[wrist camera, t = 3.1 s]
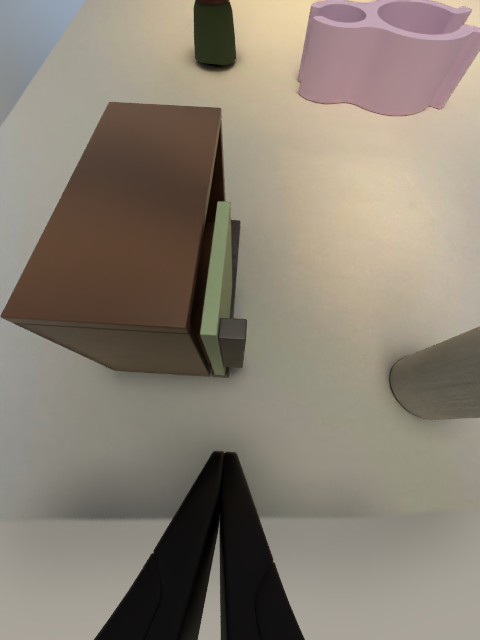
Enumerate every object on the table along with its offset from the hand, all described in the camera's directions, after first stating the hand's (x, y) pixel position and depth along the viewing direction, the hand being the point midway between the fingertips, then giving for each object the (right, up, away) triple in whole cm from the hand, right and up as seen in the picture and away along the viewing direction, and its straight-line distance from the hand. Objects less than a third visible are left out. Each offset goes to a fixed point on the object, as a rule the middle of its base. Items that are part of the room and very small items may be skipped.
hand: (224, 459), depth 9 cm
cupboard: (-5, +8, +12) cm, 16 cm away
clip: (+19, +38, +26) cm, 50 cm away
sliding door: (0, +4, +10) cm, 11 cm away
